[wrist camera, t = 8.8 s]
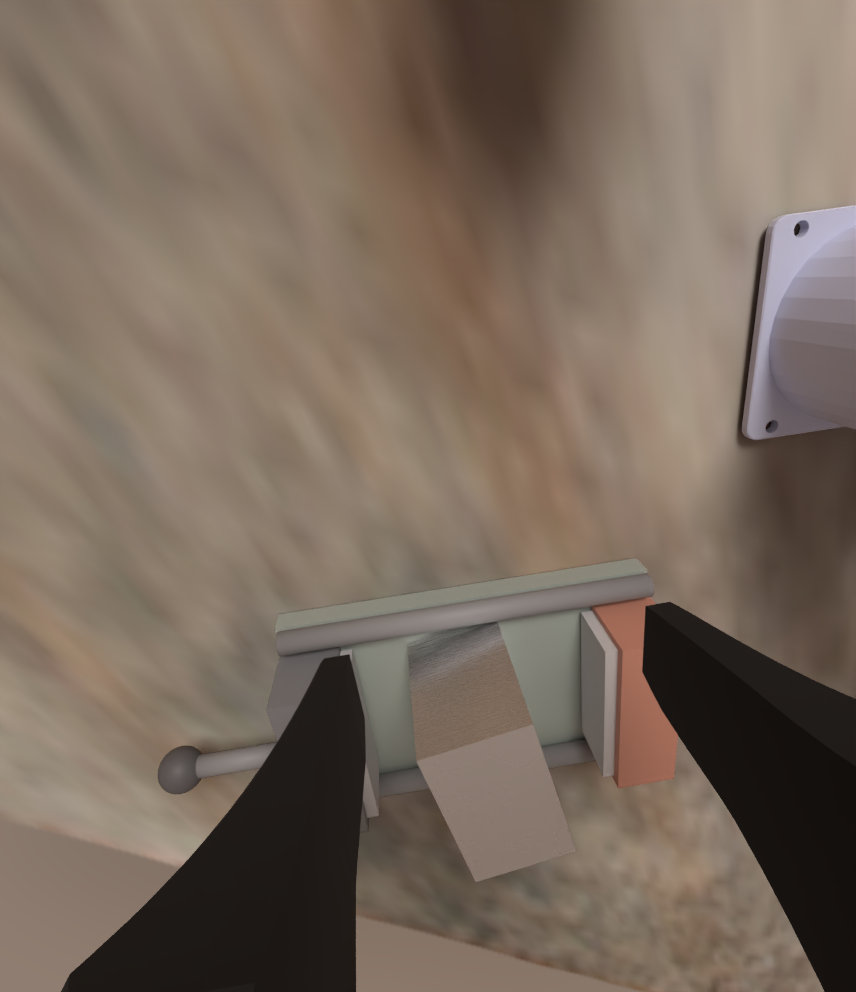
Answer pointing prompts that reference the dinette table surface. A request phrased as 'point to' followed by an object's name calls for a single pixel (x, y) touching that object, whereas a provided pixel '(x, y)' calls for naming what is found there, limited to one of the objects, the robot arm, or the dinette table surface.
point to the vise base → (386, 679)
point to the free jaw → (622, 697)
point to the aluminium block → (483, 752)
